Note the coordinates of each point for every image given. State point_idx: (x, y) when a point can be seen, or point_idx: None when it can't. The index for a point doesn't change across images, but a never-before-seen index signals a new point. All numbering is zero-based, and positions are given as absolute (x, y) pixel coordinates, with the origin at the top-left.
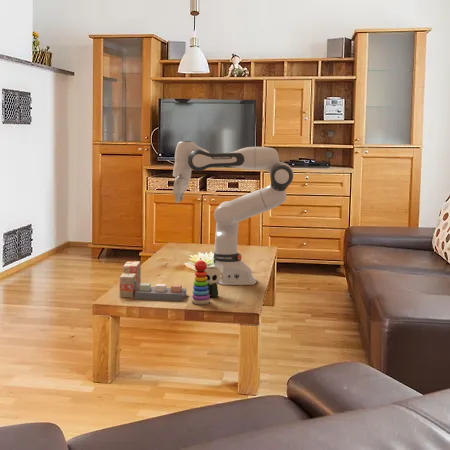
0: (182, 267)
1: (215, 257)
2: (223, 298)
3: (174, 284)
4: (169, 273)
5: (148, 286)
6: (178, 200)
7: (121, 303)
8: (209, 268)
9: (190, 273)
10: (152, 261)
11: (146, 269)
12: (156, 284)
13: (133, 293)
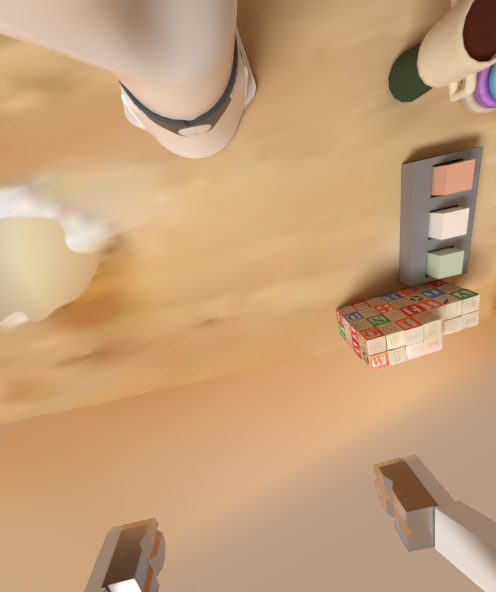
0: (84, 308)
1: (225, 107)
2: (425, 24)
3: (446, 188)
4: (177, 307)
5: (461, 251)
6: (440, 491)
7: (489, 277)
8: (458, 50)
9: (146, 256)
10: (65, 402)
11: (163, 374)
12: (451, 237)
13: (436, 283)
